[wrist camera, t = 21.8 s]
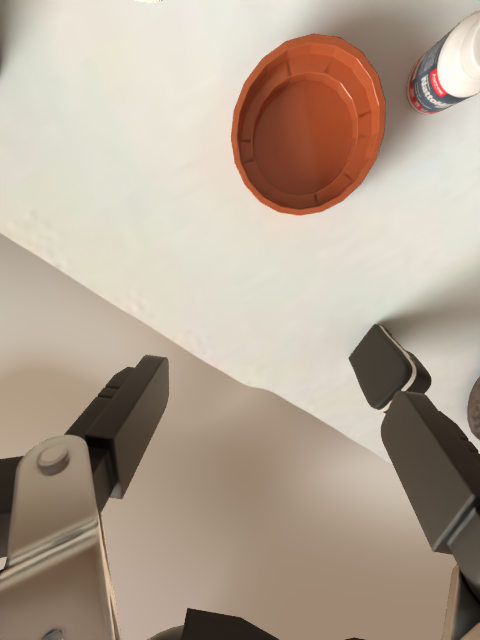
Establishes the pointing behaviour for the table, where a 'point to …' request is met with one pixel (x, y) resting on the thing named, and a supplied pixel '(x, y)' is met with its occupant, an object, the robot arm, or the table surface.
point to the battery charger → (386, 369)
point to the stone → (474, 410)
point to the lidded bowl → (148, 1)
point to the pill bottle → (448, 69)
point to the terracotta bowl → (308, 124)
